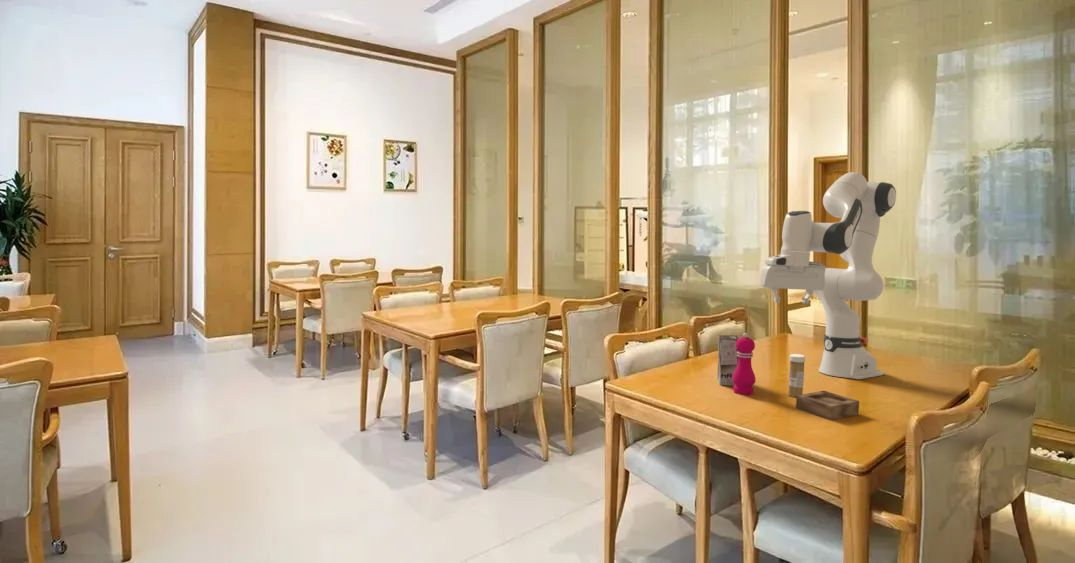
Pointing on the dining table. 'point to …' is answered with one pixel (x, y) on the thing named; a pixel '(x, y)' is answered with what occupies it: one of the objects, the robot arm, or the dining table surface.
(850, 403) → the walnut pedestal
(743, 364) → the pepper mill
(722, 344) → the coffee box
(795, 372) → the sprinkles bottle
